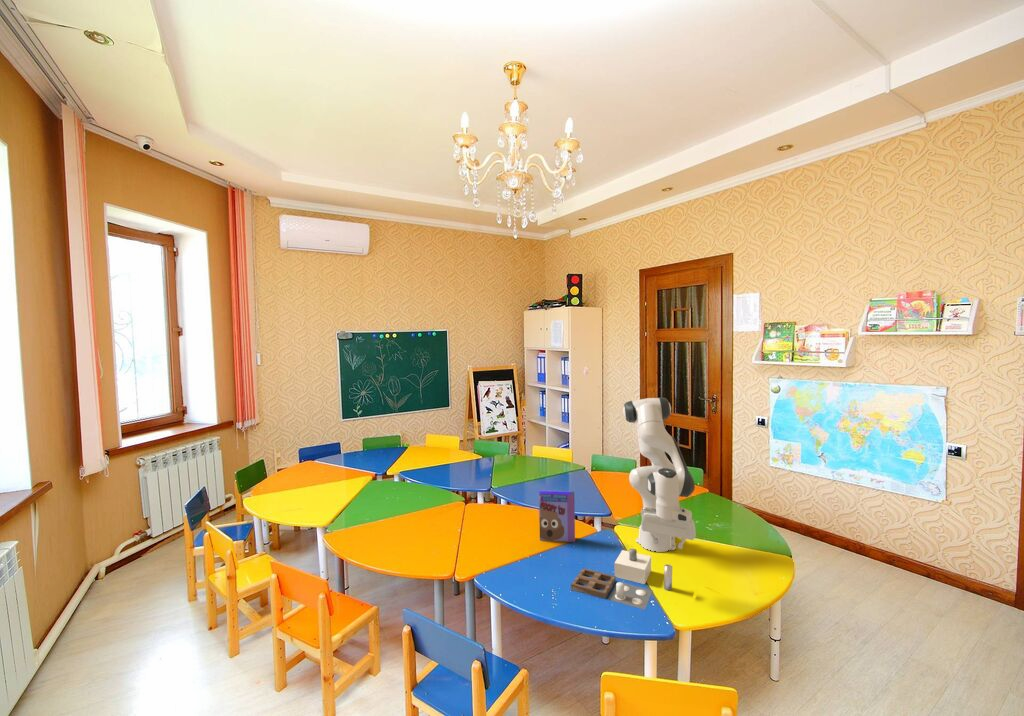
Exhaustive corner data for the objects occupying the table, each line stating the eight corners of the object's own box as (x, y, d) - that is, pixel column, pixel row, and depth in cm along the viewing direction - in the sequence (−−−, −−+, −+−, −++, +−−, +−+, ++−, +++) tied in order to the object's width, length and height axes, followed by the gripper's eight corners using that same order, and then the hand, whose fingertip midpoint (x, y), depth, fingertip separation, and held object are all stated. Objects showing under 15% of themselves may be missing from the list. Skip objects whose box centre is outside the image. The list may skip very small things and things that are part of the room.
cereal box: (539, 540, 221) (538, 493, 220) (540, 536, 226) (539, 490, 225) (574, 542, 219) (574, 494, 218) (574, 537, 223) (574, 491, 222)
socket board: (583, 574, 189) (583, 568, 188) (615, 583, 182) (615, 576, 182) (571, 591, 176) (571, 584, 176) (605, 601, 170) (605, 593, 169)
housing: (622, 565, 196) (622, 541, 195) (651, 572, 190) (651, 547, 189) (614, 579, 185) (614, 553, 184) (644, 586, 179) (644, 560, 178)
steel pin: (664, 588, 178) (665, 563, 177) (672, 590, 176) (673, 565, 176) (663, 591, 175) (663, 567, 175) (671, 593, 174) (671, 569, 173)
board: (617, 583, 181) (617, 569, 181) (652, 592, 175) (652, 578, 174) (607, 602, 169) (607, 586, 169) (645, 612, 162) (645, 596, 162)
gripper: (639, 509, 176) (639, 543, 177) (693, 518, 166) (694, 554, 167) (642, 504, 182) (642, 537, 182) (696, 512, 172) (696, 547, 172)
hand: (667, 545), depth 175 cm, fingers open, 8 cm apart
